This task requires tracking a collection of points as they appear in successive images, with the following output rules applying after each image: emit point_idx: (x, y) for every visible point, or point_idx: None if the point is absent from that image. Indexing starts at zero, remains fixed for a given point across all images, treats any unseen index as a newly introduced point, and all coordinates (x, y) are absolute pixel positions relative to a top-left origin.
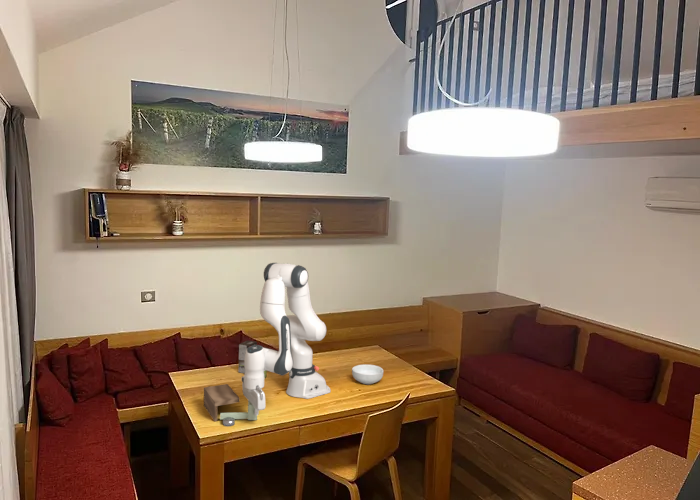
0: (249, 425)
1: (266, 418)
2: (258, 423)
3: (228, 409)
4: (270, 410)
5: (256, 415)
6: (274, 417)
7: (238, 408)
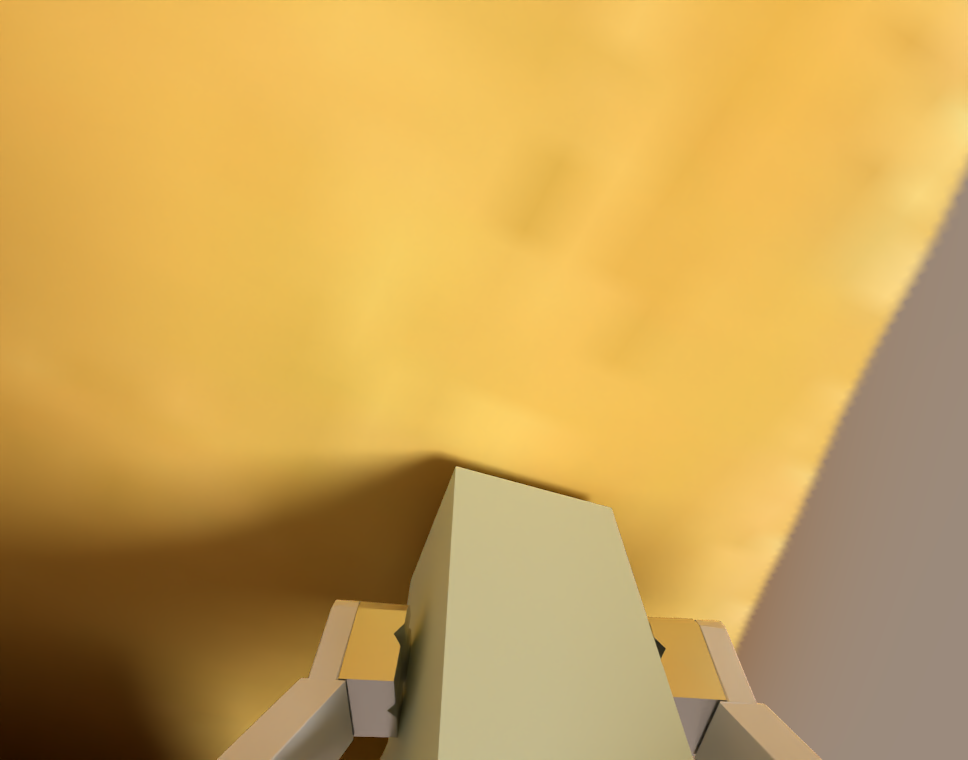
0: (680, 613)
1: (607, 317)
2: (707, 504)
3: (56, 646)
4: (220, 35)
5: (624, 583)
6: (667, 128)
7: (28, 549)
